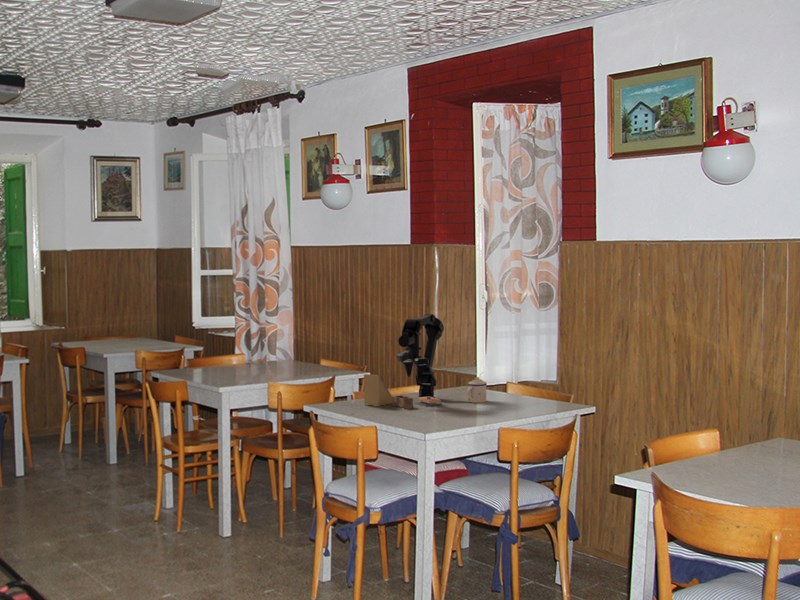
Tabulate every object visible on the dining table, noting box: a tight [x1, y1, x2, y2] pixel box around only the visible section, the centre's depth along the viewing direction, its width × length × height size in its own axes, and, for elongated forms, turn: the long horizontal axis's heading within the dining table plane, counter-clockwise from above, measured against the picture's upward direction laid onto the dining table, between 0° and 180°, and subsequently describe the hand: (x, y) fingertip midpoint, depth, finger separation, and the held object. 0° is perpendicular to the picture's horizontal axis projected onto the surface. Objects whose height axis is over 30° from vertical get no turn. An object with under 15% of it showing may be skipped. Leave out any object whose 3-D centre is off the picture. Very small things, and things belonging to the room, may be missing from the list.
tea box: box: [392, 394, 414, 409], centre depth 423 cm, size 10×5×4 cm, turn 29°
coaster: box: [415, 401, 443, 407], centre depth 430 cm, size 9×9×1 cm
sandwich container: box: [363, 373, 393, 407], centre depth 433 cm, size 9×15×15 cm, turn 146°
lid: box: [416, 396, 441, 404], centre depth 430 cm, size 11×7×3 cm, turn 29°
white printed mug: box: [466, 376, 487, 404], centre depth 435 cm, size 12×9×12 cm
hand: (413, 377), depth 434 cm, fingers open, 9 cm apart
